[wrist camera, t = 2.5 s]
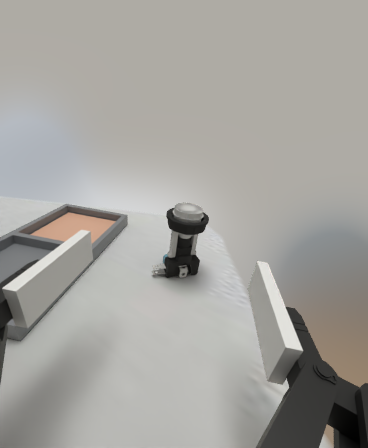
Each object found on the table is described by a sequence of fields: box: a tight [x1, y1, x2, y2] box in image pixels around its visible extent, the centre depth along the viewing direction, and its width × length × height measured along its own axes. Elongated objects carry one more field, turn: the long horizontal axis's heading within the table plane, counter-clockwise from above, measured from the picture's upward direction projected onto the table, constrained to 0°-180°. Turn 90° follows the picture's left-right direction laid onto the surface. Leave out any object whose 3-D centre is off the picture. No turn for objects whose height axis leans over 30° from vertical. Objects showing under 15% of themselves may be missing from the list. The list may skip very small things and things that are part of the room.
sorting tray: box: [0, 204, 127, 341], centre depth 29 cm, size 13×24×2 cm, turn 172°
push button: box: [152, 203, 209, 278], centre depth 27 cm, size 7×5×10 cm
